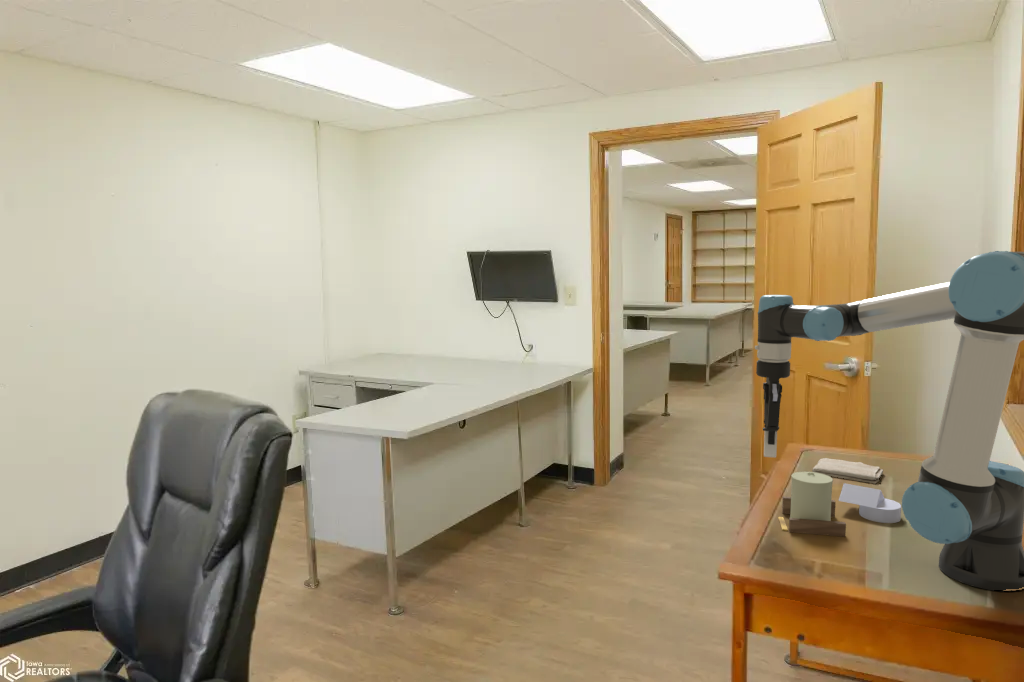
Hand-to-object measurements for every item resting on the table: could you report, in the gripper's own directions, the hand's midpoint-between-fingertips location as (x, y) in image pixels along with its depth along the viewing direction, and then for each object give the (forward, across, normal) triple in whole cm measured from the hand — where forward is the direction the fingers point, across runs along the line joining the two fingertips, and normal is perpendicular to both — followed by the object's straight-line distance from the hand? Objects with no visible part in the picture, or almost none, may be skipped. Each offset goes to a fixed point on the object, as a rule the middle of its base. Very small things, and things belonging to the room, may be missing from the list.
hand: (769, 456), depth 165 cm
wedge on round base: (+16, -10, +25) cm, 32 cm away
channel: (+16, 0, +10) cm, 19 cm away
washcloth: (+17, -44, +27) cm, 54 cm away
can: (+16, 0, +10) cm, 19 cm away
